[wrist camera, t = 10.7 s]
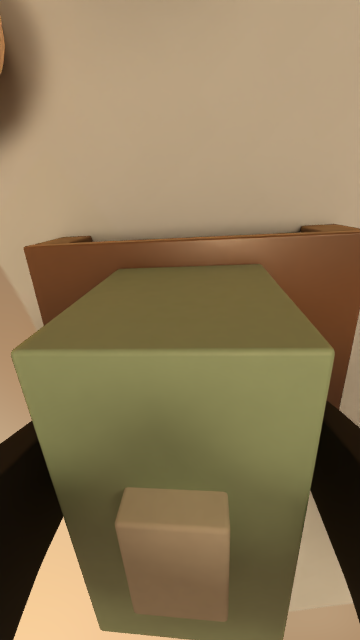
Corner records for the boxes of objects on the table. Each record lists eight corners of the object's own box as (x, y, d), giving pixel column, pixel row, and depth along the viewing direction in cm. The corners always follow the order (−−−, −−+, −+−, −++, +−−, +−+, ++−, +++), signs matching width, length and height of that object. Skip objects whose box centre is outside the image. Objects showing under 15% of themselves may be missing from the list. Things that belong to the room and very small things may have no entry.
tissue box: (250, 458, 13) (289, 693, 7) (143, 455, 13) (89, 669, 7) (261, 263, 9) (364, 379, 3) (117, 268, 10) (-28, 376, 4)
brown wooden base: (304, 430, 16) (325, 479, 13) (101, 425, 17) (81, 469, 14) (336, 224, 12) (376, 231, 9) (62, 236, 13) (22, 246, 10)
